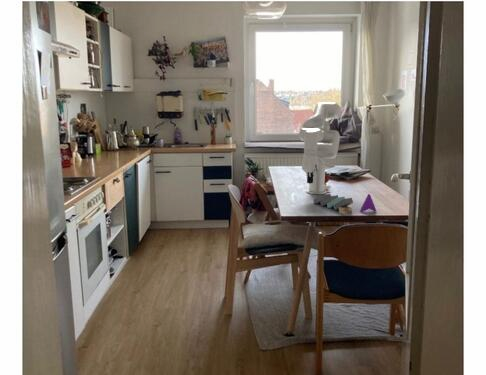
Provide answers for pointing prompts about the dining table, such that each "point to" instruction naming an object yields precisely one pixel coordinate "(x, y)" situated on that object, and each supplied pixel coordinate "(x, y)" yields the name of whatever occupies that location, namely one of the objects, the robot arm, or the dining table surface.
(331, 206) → the teal tile
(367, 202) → the arrowhead
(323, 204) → the tile
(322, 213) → the dining table surface
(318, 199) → the tile
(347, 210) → the stop block
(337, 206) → the tile
